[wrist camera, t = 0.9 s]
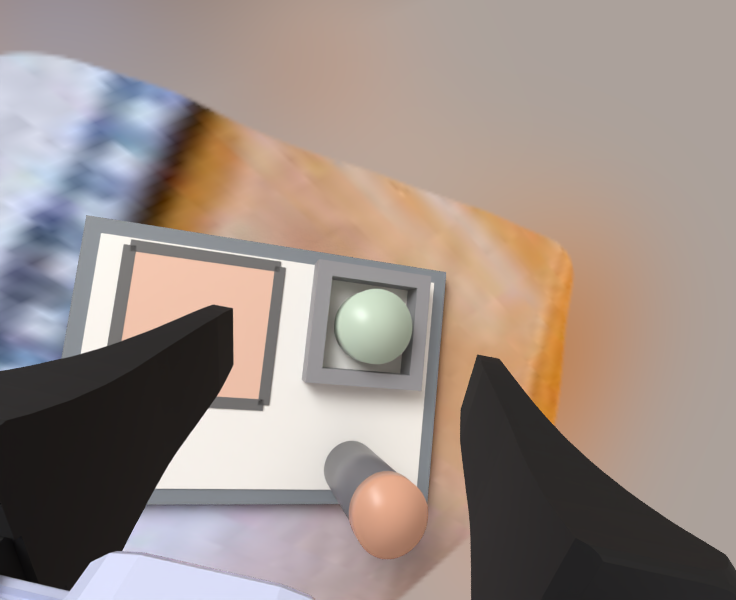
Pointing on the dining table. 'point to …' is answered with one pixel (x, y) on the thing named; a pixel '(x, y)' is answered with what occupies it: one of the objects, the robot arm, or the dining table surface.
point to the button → (373, 326)
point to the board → (267, 357)
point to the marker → (376, 500)
